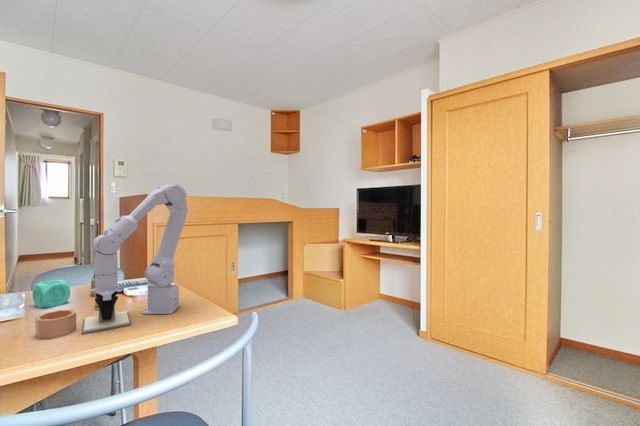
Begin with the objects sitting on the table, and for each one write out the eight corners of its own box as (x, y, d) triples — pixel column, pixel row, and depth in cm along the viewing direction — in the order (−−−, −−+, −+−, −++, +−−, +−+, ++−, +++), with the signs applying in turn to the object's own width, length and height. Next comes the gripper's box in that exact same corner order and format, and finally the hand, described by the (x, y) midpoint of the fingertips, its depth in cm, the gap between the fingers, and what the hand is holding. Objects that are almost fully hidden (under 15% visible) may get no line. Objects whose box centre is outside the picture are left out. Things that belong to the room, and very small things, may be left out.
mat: (128, 313, 104) (128, 312, 104) (131, 325, 95) (131, 323, 94) (83, 321, 97) (83, 319, 97) (81, 334, 88) (81, 332, 88)
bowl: (82, 326, 94) (82, 309, 93) (60, 338, 85) (60, 320, 85) (52, 326, 93) (52, 310, 93) (27, 338, 84) (27, 320, 84)
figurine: (108, 290, 130) (107, 262, 130) (115, 293, 126) (115, 264, 126) (87, 294, 124) (87, 264, 124) (94, 298, 120) (94, 267, 120)
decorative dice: (58, 299, 118) (58, 278, 118) (70, 302, 114) (70, 281, 114) (32, 305, 111) (31, 283, 110) (44, 309, 107) (43, 286, 107)
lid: (126, 312, 104) (126, 300, 103) (129, 323, 95) (129, 310, 94) (85, 319, 97) (85, 306, 97) (83, 331, 88) (83, 317, 88)
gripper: (90, 270, 99) (91, 312, 99) (89, 280, 87) (90, 328, 88) (117, 268, 103) (117, 308, 104) (119, 277, 91) (119, 322, 92)
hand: (106, 317), depth 96 cm, fingers closed on lid, 4 cm apart
